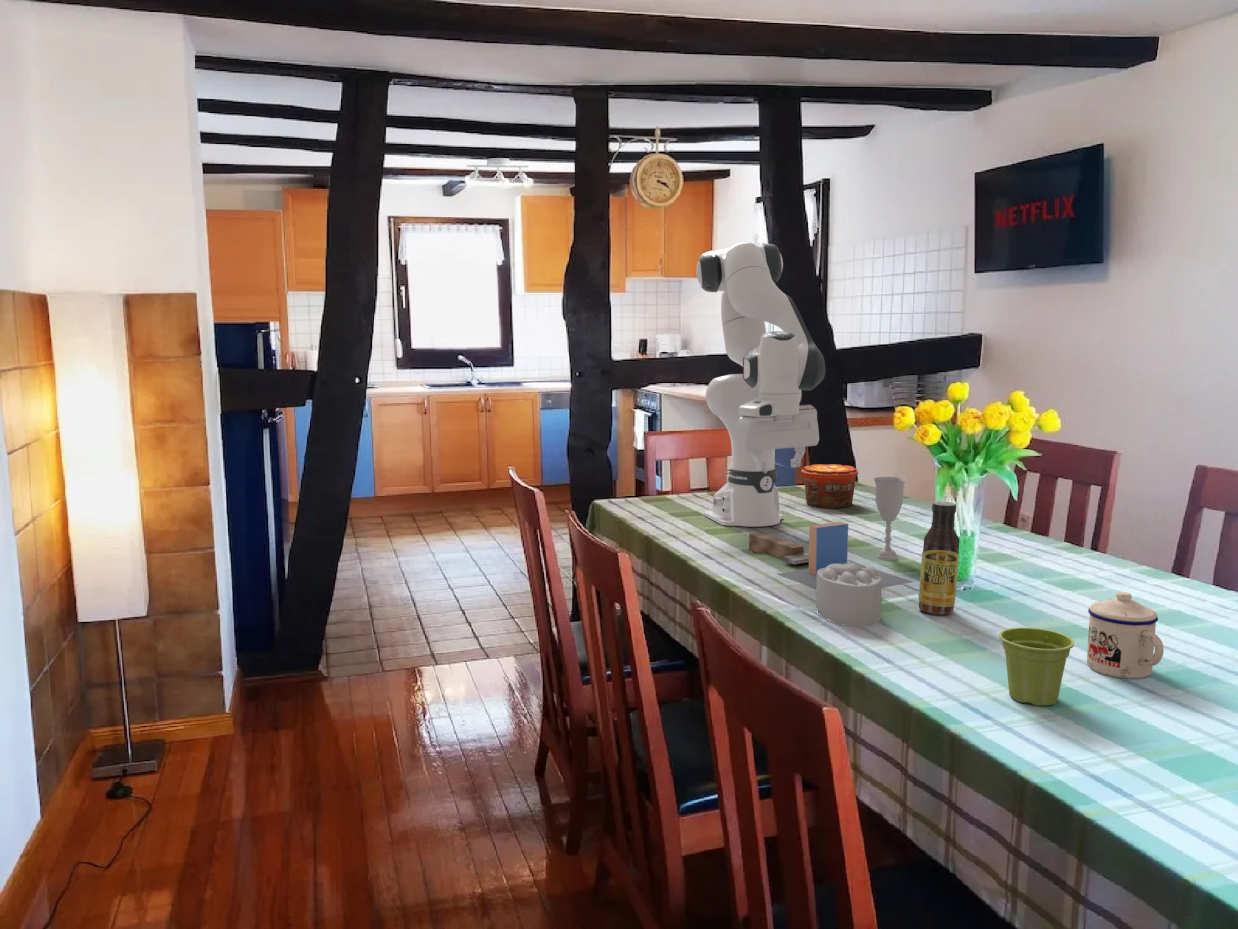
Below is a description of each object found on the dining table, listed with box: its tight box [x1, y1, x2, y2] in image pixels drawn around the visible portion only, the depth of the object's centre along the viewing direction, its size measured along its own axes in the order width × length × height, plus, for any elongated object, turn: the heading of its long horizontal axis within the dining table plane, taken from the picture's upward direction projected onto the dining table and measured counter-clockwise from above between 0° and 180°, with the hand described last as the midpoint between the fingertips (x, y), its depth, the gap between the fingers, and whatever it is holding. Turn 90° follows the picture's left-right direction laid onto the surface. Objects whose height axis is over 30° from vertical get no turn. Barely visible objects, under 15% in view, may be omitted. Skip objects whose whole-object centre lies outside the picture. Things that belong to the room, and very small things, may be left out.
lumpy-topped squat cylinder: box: [815, 562, 883, 627], centre depth 165 cm, size 10×13×9 cm
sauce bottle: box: [918, 501, 960, 616], centre depth 166 cm, size 6×6×20 cm
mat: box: [777, 561, 914, 590], centre depth 188 cm, size 18×20×1 cm
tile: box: [808, 521, 849, 576], centre depth 191 cm, size 2×8×10 cm, turn 117°
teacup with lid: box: [1086, 591, 1165, 680], centre depth 136 cm, size 12×9×12 cm
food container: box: [800, 463, 859, 509], centre depth 267 cm, size 16×16×11 cm
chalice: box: [873, 476, 907, 561], centre depth 202 cm, size 7×7×18 cm
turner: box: [748, 532, 809, 565], centre depth 206 cm, size 20×8×4 cm, turn 27°
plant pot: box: [998, 627, 1075, 707], centre depth 128 cm, size 9×9×9 cm
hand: (778, 468), depth 205 cm, fingers open, 8 cm apart
